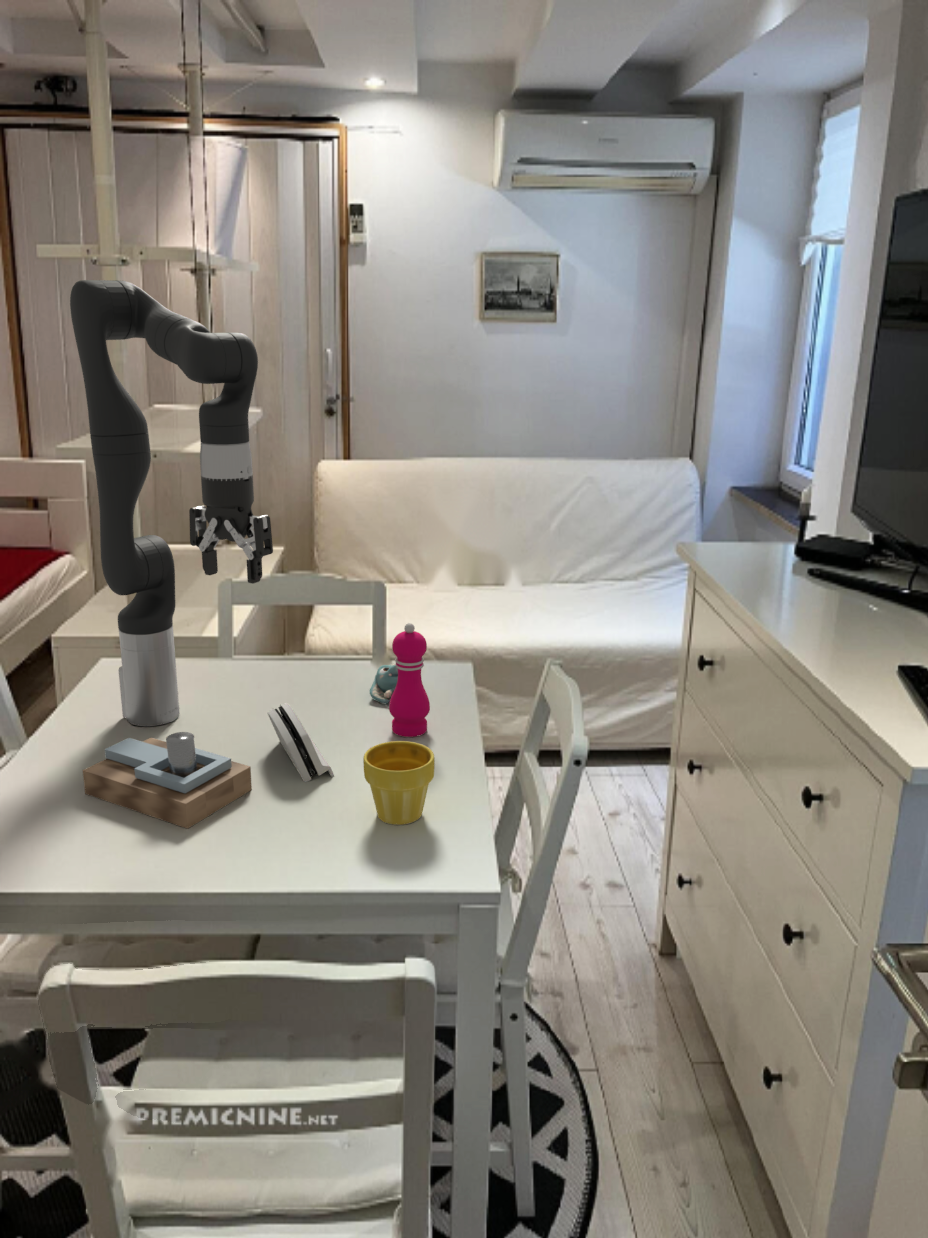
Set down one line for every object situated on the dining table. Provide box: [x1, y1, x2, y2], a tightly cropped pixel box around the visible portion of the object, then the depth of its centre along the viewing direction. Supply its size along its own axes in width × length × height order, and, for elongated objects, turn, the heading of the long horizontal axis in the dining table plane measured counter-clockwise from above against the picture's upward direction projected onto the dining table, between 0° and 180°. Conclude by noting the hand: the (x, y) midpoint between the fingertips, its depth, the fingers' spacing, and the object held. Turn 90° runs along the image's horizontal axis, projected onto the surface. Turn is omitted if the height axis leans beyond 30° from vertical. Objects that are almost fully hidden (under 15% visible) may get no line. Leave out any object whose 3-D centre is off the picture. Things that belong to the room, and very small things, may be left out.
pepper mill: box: [388, 622, 431, 738], centre depth 176 cm, size 7×7×20 cm
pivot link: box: [104, 737, 232, 793], centre depth 154 cm, size 19×10×2 cm, turn 61°
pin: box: [165, 731, 197, 778], centre depth 152 cm, size 4×4×10 cm
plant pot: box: [362, 740, 436, 826], centre depth 148 cm, size 10×10×10 cm
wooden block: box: [82, 737, 253, 830], centre depth 155 cm, size 21×14×4 cm, turn 61°
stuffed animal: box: [369, 663, 398, 705], centre depth 193 cm, size 11×7×12 cm
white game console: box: [267, 702, 335, 782], centre depth 166 cm, size 17×5×10 cm, turn 23°
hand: (232, 578), depth 154 cm, fingers open, 8 cm apart
